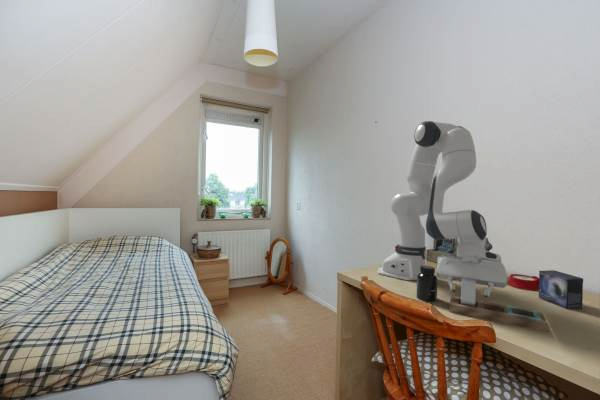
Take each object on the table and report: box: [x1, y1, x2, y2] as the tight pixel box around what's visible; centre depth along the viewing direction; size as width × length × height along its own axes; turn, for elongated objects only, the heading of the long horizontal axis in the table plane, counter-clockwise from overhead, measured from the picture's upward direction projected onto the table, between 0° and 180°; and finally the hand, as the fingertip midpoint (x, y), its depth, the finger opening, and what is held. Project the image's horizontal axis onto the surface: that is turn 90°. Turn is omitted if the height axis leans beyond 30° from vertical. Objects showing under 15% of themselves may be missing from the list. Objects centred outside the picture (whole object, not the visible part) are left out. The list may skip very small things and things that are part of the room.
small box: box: [538, 269, 584, 310], centre depth 100 cm, size 11×6×10 cm, turn 5°
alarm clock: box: [507, 273, 539, 291], centre depth 118 cm, size 10×6×15 cm
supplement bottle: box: [416, 265, 439, 303], centre depth 101 cm, size 7×7×12 cm
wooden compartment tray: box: [448, 295, 549, 333], centre depth 87 cm, size 24×9×3 cm, turn 57°
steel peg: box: [460, 278, 477, 307], centre depth 91 cm, size 4×4×10 cm
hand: (469, 293), depth 90 cm, fingers open, 8 cm apart
